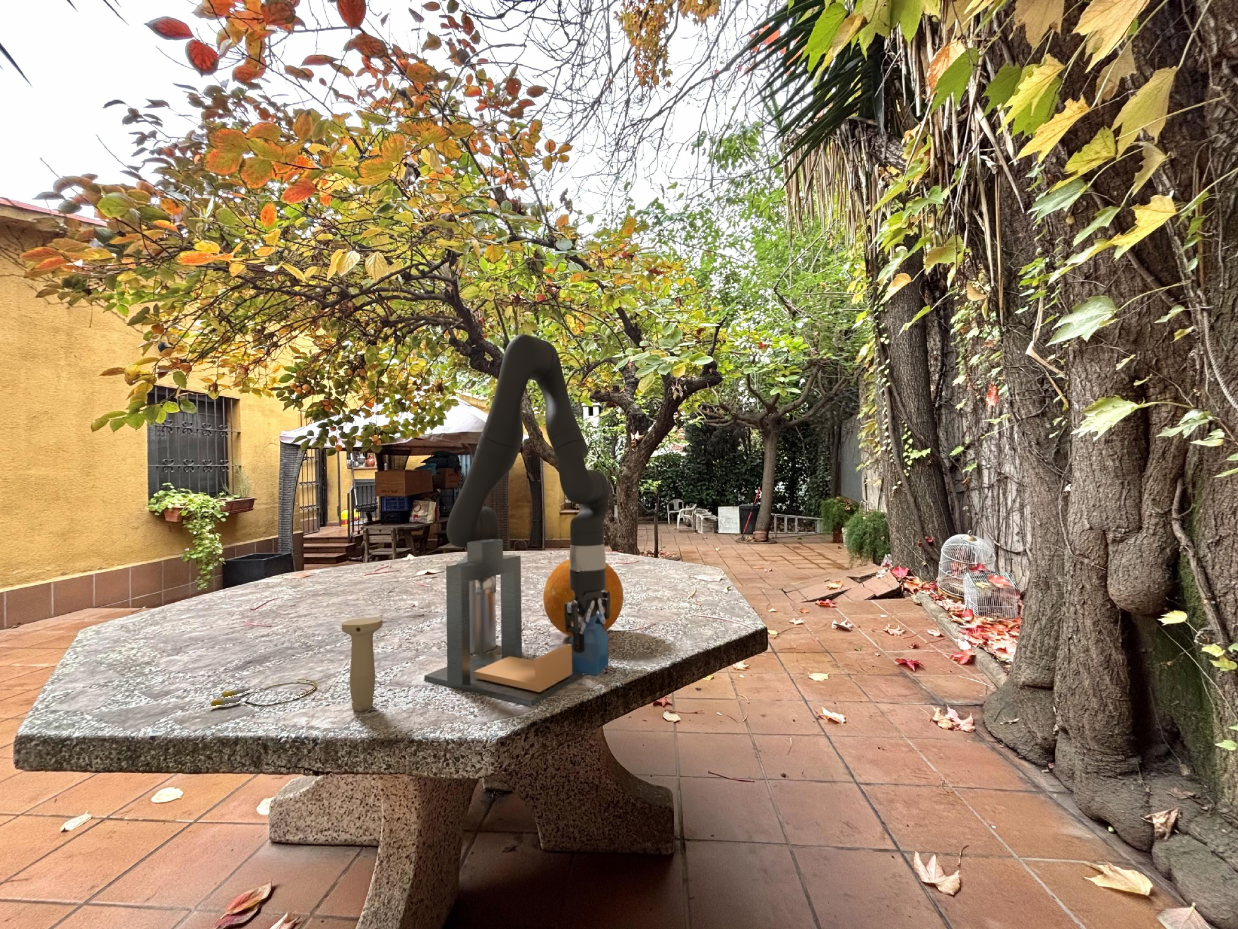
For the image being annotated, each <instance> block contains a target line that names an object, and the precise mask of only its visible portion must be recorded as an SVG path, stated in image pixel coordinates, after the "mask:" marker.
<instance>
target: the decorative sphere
mask: <svg viewBox="0 0 1238 929" xmlns="http://www.w3.org/2000/svg"><path fill="white" fill-rule="evenodd" d="M603 591H610V617H609V619H606V620H605V624H604V629H605V631H606V632H607V631H608V630H609V629H610V628H611V627H612V626H613V625H614V624H615V623H616V622H617V620H618V618H619V616H620V614H621V612H622V609H623V606H624V589H623V585H622V582H621V580H620V577H619V575H618V574H617V572H616V570H614V569H613V567H612V566H611V565H609V564H608V563H606V588H605V589H603ZM574 595H575V593H574V591H573V590H571V589H570V564H569V558H568V559H566V560H564V561H562V562H561V563H559V564H558V565H557V566H556V567H555V568H554V569H553V570H552V572H551V573H550V574H549V576H548V578H547V580H546V582H545V584H544V590H543V597H542V600H543V606H544V607H543V608H544V610H545V613H546V616H547V617H548V620H549V621H550V623H551V624H552V626H554V627H555V628H556V629H557V630H558V631H560V632H561V633H562V634H565V635H566V636H569V637H571V636H572V633H571V632H566V630H565V613H564V604H565V602H572V601H573V600H574ZM603 609H604V613H605V608H604V607H603ZM578 617H580V615H579V614H578ZM570 623H571V626H572V623H573V622H572V621H570ZM580 624H581V622H579V625H580Z"/></svg>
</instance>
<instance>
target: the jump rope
mask: <svg viewBox="0 0 1238 929" xmlns="http://www.w3.org/2000/svg"><path fill="white" fill-rule="evenodd" d="M298 680H306V681H305V682H308V681H311V682H310V683H312V682H313V683H314V684H315V686H313V687H312V688H311V689H308V690H307V691H304V692H302V693H300V694H298V695H295V696H299V697H300V695H303V694H305V693H308V692H309V691H311V690H313V689H314V688H316V686H318V684H317V682H316V681H315V680H312V679H307V678H305V679H304V678H300V679H298ZM250 689H251V688H250V687H249V686H248V687H241V688H236V689H232V690H228V691H227V690H225V691H223V692H222V693H221V698H220V699H214V700H211V703H210V707H211V706H216V705H225V704H229V703H236V702H239V701H242V700H241V697H234V698H233V697H231V698H225V697H228V696H232V695H237V694H239V693H243V692H245V691H248V690H250ZM316 689H317V688H316ZM222 696H223V697H224V698H222ZM295 696H294V695H293V697H295Z"/></svg>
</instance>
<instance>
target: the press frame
mask: <svg viewBox="0 0 1238 929" xmlns="http://www.w3.org/2000/svg"><path fill="white" fill-rule="evenodd" d="M466 548H467V549H466V552H467V554H466V555H467V562H465V563H460V564H457V563H454V564H450V565H445V580H446V582H445V583H446V584H445V586H446V589H445V590H446V592H445V593H446V594H445V596H446V600H445V601H446V666H444V667H442V668H440V669H437V670H434V671H431V672H429V673H427V674H425V675H424V678H423V680H424V682H428V683H432V684H437V685H440V686H445V687H449V688H453V689H458V690H462V691H466V692H470V693H475V694H478V695H482V696H487V697H490V698H496V699H500V700H503V701H508V702H512V703H516V704H520V705H525V706H528V707H533V706H535V705H536V704H538V703H539V702H541V700H542V701H543V700H545V699H547V698H548V697H550V696H552V695H553V694H556V693H558V692H559V691H561V690H562V689H564V688H565V687H567V686H569V685H571V684H572V683H574V682H575V681H578V680H579V679H581V678H583V677H584V673H583V671H579V670H574V669H572V674H571V675H570V676H568V677H566V678H564V679H563V680H561V681H559V682H557V683H555V684H554V685H552V686H550V687H548V688H546V689H545V690H543V691H541V692H537V691H532V690H528V689H523V688H519V687H514V686H510V685H505V684H501V683H496V682H492V681H487V680H483V679H478V678H474V671H476V670H478V669H481V668H483V667H485V666H488V665H490V664H492V663H494V662H497V661H499V660H501V659H504V658H506V657H508V656H511V657H517V658H522V659H523V632H522V631H523V629H522V628H523V627H522V619H523V618H522V567H521V566H522V565H521V564H522V563H521V562H522V561H521V560H522V559H521V558H522V557H521V555H516V554H514V555H513V554H504V540H503V539H499V540H497V539H486V540H479V541H472V542H467V547H466ZM499 575H500V630H501V631H500V634H501V635H500V637H501V644H500V645H501V654H500V655H499V654H493V653H488V652H481V653H476V654H475V655H472V656H471V654H470V610H469V581H474V580H476V594H478V595H487V594H493V593H495V594H497V576H499Z"/></svg>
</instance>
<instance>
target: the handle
mask: <svg viewBox="0 0 1238 929" xmlns="http://www.w3.org/2000/svg"><path fill="white" fill-rule="evenodd" d="M382 627H383V618H382V617H362V618H354V619H353V618H352V619H348V620H345V621H343V622H342V623H341V631H342V632H343V633H344V634H347V635H349V636H350V637H351V647H350V648H351V649H350V650H351V652H350V653H351V654H350V668H349V670H350V671H349V692H350V698H351V701H352V703H351V707H352V710H353V711H356V712H363V711H365V710H370V709H372V706H374V695H375V687H376V666H375V654H374V653H375V652H374V640H373V639H374V634H375V632H377V631H379V630H380V629H381V628H382ZM369 708H370V709H369Z"/></svg>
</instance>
